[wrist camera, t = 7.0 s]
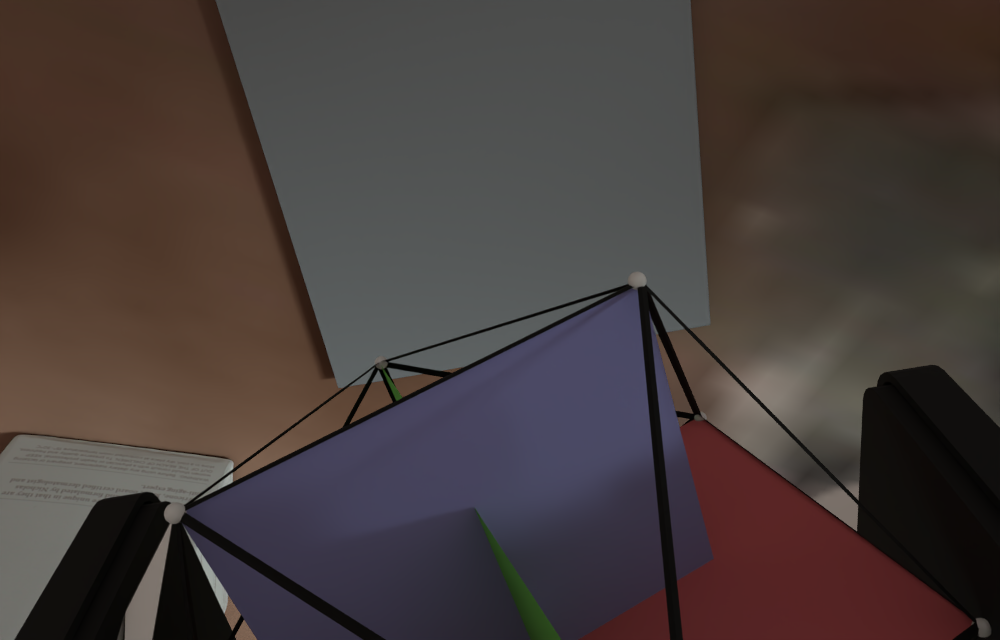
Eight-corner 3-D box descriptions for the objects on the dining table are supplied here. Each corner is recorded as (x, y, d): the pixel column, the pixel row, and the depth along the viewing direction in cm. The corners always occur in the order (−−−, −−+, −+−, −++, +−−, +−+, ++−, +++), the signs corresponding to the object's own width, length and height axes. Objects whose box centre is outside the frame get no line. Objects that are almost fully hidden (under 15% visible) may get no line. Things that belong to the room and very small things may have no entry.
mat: (675, -141, 21) (681, -141, 20) (705, 315, 27) (710, 324, 26) (207, -48, 21) (200, -46, 21) (341, 378, 27) (338, 388, 27)
